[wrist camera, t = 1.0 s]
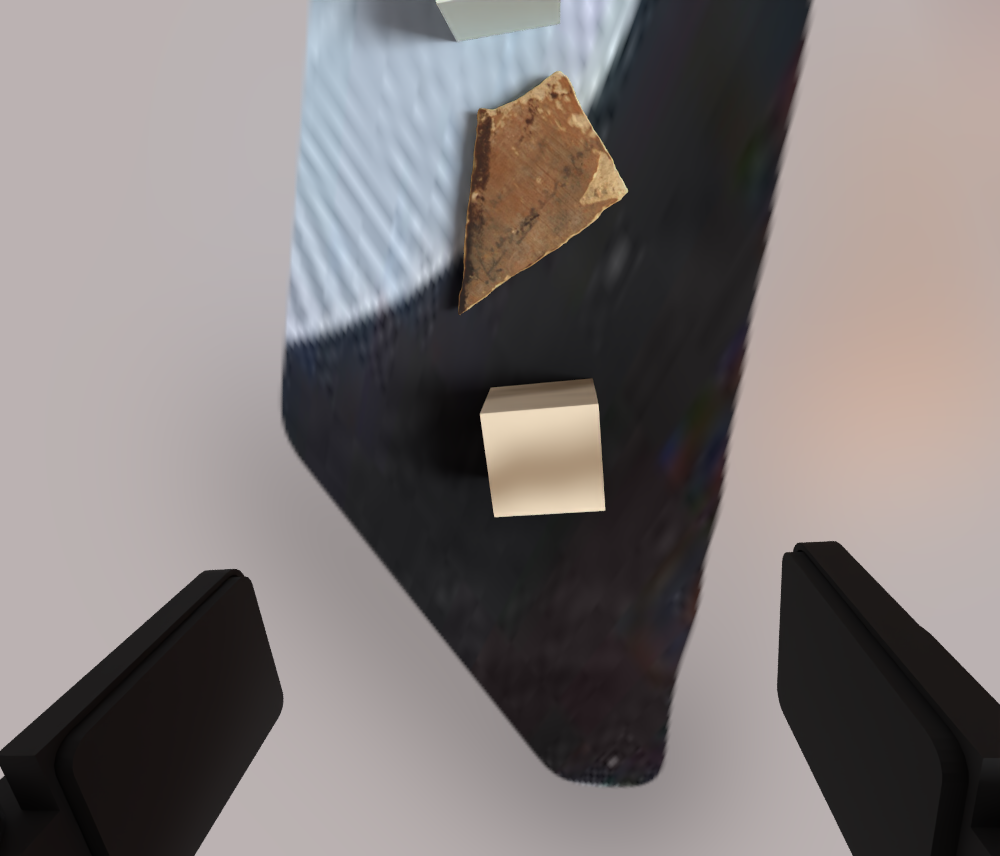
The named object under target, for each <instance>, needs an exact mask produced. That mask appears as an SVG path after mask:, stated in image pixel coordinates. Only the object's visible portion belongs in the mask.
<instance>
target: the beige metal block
mask: <svg viewBox="0 0 1000 856" xmlns="http://www.w3.org/2000/svg"><path fill="white" fill-rule="evenodd" d="M480 418H481V425H482V433H483V440H484V447H485V454H486V461H487V468H488V475H489V482H490V489H491V497H492V504H493V511H494V517H504V516H521V515H538V514H555V513H572V512H589V511H605V500H604V484H603V469H602V453H601V437H600V422H599V406H598V400H597V396H596V391H595V387H594V383H593V378H592V379H581V380H570V381H559V382H548V383H537V384H526V385H515V386H504V387H493V388H490V391H489V393H488V396H487V398H486V400H485V403H484V405H483V408H482V410H481V412H480Z"/></svg>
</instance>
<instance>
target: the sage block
mask: <svg viewBox="0 0 1000 856" xmlns="http://www.w3.org/2000/svg"><path fill="white" fill-rule="evenodd" d="M436 4H437V6H438V8H439V10H440V11H441V13H442V15H443V17H444V19H445V21H446V22H447V24H448V26H449V28H450V30H451V32H452V33H453V35H454V37H455V39H456V41H457V42H460V41H465V40H471V39H477V38H483V37H488V36H494V35H500V34H506V33H511V32H517V31H523V30H529V29H534V28H540V27H546V26H552V25H557V24H560V0H436Z"/></svg>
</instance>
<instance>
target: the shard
mask: <svg viewBox="0 0 1000 856" xmlns="http://www.w3.org/2000/svg"><path fill="white" fill-rule="evenodd" d="M477 121H478V125H477V128H476V131H477V135H476V141H475V148H474V153H473V154H474V161H473V171H472V175H471V188H470V197H469V203H468V210H467V217H466V219H467V223H466V227H465V228H466V231H465V241H464V273H463V282H462V289H461V291H460V294H459V306H458V314H459V315H461V314H462V313H463V312H464V311H466V310H468V309H470V308H471V307H472V306H473V305H474V304H476V303H477V302H479V301H480V300H482V299H483V298H485V297H486V296H487V295H488V294H490V293H491V292H492V291H493V290H494V289H495V288H496V287H497V286H499V285H501V284H502V283H504V282H505V281H507V280H508V279H509V278H511V277H512V276H514V275H515V274H517V273H519V272H520V271H523V270H525V269H526V268H529V267H530V266H532V265H533V264H535V263H536V262H538V261H539V260H540V259H542V258H543V257H544V256H545V255H547V254H548V253H550V252H552V251H554V250H556V249H558V248H559V247H560V246H562V245H563V244H564V243H566V242H567V241H568V240H569V239H570V238H571V237H573V236H574V235H576V234H578V233H580V232H581V231H582V230H583V229H584V228H586V227H587V226H589V225H590V224H591V223H593V222H594V221H595V220H596V219H598V217H599V216H600V214H601V213H602V212H603V210H605V209H606V208H608V207H610V206H611V205H613V204H614V203H616V202H618V201H620V200H621V199H622V197H623V196H624V195H625V194H626V193H627V192H628V189H627V188H626V186H625V184H624V182H623V180H622V178H621V177H620V176H619V173H618V171H617V169H616V168H615V165H614V162H613V159H612V158H611V156H610V155H609V153H608V151H607V150H606V148H605V146H604V144H603V143H602V141H601V139H600V138H599V136H598V135H597V134H596V132H595V131H594V129H593V127H592V125H591V124H590V122H589V120H588V118H587V116H586V115H585V113H584V112H583V110H582V108H581V106H580V103H579V101H578V100H577V98H576V95H575V91H574V89H573V86H572V84H571V82H570V80H569V79H568V77H567V76H566V75H564V74H563V73H562V72H561V71H557V72H555V73H553V74H552V75H551V76H549V77H548V78H546V79H545V80H544V81H542V82H541V84H540V85H538V86H536V87H534V88H533V89H532V90H530V91H529V92H527V93H526V94H525V95H523V96H522V97H520V98H518V99H517V100H515V101H512V102H510V103H507V104H505V105H503V106H500V107H498V108H496V109H485V108H480V109H479V110H478V114H477Z"/></svg>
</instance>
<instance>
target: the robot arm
mask: <svg viewBox="0 0 1000 856" xmlns="http://www.w3.org/2000/svg"><path fill="white" fill-rule="evenodd" d="M777 691H778V698H779V702H780V706H781V709H782V711H783V714H784V716H785V718H786V720H787V722H788V724H789V726H790V728H791V730H792V732H793V734H794V736H795V738H796V740H797V742H798V744H799V746H800V748H801V751H802V753H803V755H804V757H805V759H806V761H807V762H808V765H809V766H810V769H811V771H812V773H813V775H814V777H815V779H816V781H817V783H818V785H819V787H820V789H821V791H822V794H823V796H824V797H825V800H826V802H827V804H828V806H829V808H830V810H831V812H832V814H833V816H834V818H835V820H836V822H837V824H838V826H839V828H840V830H841V832H842V834H843V836H844V838H845V841H846V843H847V845H848V847H849V849H850V851H851V853H852V855H853V856H1000V704H999V703H998V702H997V701H996V700H995V699H994V698H993V697H992V696H991V695H990V694H989V693H988V692H987V691H986V690H985V689H984V688H983V687H982V686H981V685H980V684H979V683H978V682H977V681H976V680H975V679H974V678H973V677H972V676H971V675H970V674H969V673H968V672H967V671H966V670H965V669H964V668H963V667H962V666H961V665H960V664H959V662H958V661H957V660H955V658H954V657H953V656H952V655H951V654H950V653H949V652H948V651H947V650H946V649H945V648H944V647H943V646H942V645H941V644H940V643H939V642H938V641H937V640H936V639H935V638H934V637H933V636H932V635H931V634H930V633H929V632H927V631H926V630H925V629H924V628H922V627H921V626H919V624H917V623H916V622H915V620H914V619H913V618H912V617H911V616H910V615H909V614H908V613H907V612H906V611H905V610H904V609H903V608H902V607H901V606H900V605H899V604H898V603H897V602H896V601H895V600H894V599H893V598H892V597H891V596H890V595H889V594H888V593H887V592H886V591H885V590H884V588H883V587H882V586H881V585H880V584H879V583H877V581H876V580H875V579H874V578H873V577H872V576H871V575H870V574H869V573H868V572H867V571H866V570H865V569H864V568H863V567H862V566H861V565H860V564H859V563H858V562H857V561H856V560H855V559H854V558H853V557H852V556H851V555H850V554H849V553H848V551H847V550H846V549H845V548H844V547H843V546H842V545H841V544H839V543H838V542H836V541H835V542H834V541H827V542H806V543H797V544H796V545H795V547H794V550H793V552H786V553H785V554H784V556H783V560H782V580H781V604H780V630H779V654H778V678H777ZM282 707H283V692H282V688H281V685H280V681H279V677H278V674H277V671H276V667H275V663H274V659H273V656H272V652H271V649H270V645H269V642H268V638H267V635H266V631H265V627H264V624H263V621H262V617H261V613H260V610H259V606H258V603H257V599H256V595H255V592H254V588H253V585H252V582H251V580H250V579H249V578H248V577H245V576H244V575H243V574H242V572H241V571H240V570H237V569H225V570H208V571H204V572H202V573H201V574H199V575H198V576H197V577H196V578H195V579H194V580H193V581H192V582H190V583H189V584H188V585H187V586H186V587H185V588H184V589H182V590H181V591H180V592H179V593H178V594H177V595H176V596H175V597H173V598H172V599H171V600H170V601H169V602H168V603H167V604H166V605H164V606H163V607H162V608H161V609H160V610H159V611H158V612H157V613H155V614H154V615H153V616H152V617H151V618H150V619H149V620H147V621H146V622H145V623H144V624H143V625H142V626H141V627H140V628H139V629H137V630H136V631H135V632H134V633H133V634H132V635H130V636H129V637H128V638H127V639H126V640H125V641H124V642H123V643H121V644H120V645H119V646H118V647H117V648H116V649H115V650H114V651H113V652H111V653H110V654H109V655H108V656H107V657H106V658H105V659H103V660H102V661H101V662H100V663H99V664H98V665H97V666H95V667H94V668H93V669H92V670H91V671H90V672H89V673H88V674H87V675H85V676H84V677H83V678H82V679H81V680H80V681H79V682H77V683H76V684H75V685H74V686H73V687H72V688H71V689H69V691H67V692H66V693H65V694H64V695H63V696H62V697H60V698H59V699H58V700H57V701H56V702H55V703H54V704H53V705H51V706H50V707H49V708H48V709H47V710H46V711H45V712H43V713H42V714H41V715H40V716H39V717H38V718H37V719H36V720H34V721H33V722H32V723H31V724H30V725H29V726H28V727H27V728H25V729H24V730H23V731H22V732H21V733H20V734H19V735H17V736H16V737H15V738H14V739H13V740H12V741H11V742H10V743H8V744H7V745H6V746H5V747H4V748H3V749H2V750H1V751H0V767H1V769H2V771H3V773H4V775H5V776H4V777H3V778H2V779H0V856H194V855H195V854H196V852H197V850H198V849H199V847H200V845H201V844H202V842H203V841H204V839H205V837H206V836H207V834H208V832H209V831H210V829H211V827H212V826H213V824H214V822H215V821H216V819H217V818H218V816H219V814H220V813H221V811H222V809H223V807H224V806H225V804H226V803H227V801H228V799H229V798H230V796H231V794H232V793H233V791H234V790H235V788H236V786H237V785H238V783H239V781H240V780H241V778H242V777H243V775H244V773H245V771H246V770H247V768H248V767H249V765H250V763H251V762H252V760H253V758H254V757H255V755H256V754H257V752H258V750H259V749H260V747H261V745H262V744H263V742H264V740H265V739H266V737H267V735H268V733H269V732H270V730H271V729H272V727H273V726H274V724H275V722H276V721H277V719H278V717H279V715H280V713H281V710H282Z"/></svg>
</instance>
